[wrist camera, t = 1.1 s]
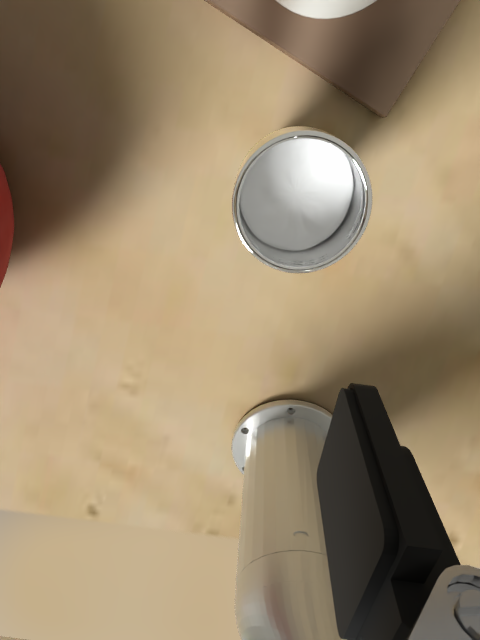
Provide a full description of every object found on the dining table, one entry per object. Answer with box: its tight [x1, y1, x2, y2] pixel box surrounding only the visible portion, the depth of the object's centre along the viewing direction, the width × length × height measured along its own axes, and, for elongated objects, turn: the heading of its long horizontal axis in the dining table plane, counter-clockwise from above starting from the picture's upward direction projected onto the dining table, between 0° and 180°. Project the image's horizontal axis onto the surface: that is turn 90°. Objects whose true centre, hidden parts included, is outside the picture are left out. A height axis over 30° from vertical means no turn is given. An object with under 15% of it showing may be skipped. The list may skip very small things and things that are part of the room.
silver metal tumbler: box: [232, 126, 372, 273], centre depth 25 cm, size 7×7×15 cm
